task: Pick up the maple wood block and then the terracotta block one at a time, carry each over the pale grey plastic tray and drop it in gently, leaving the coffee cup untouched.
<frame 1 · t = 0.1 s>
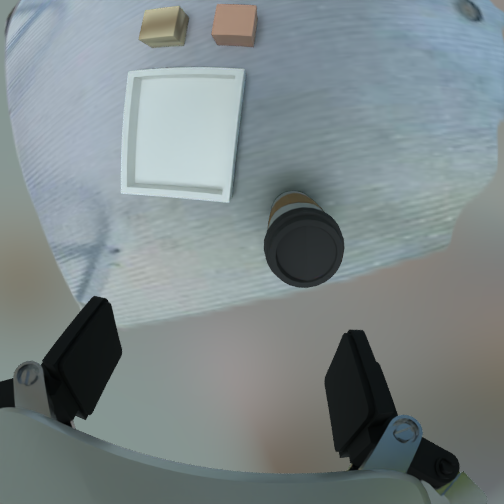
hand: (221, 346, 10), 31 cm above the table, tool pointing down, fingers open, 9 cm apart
tray: (182, 131, 35), on the table
maple block: (170, 32, 29), on the table
coffee cup: (292, 210, 40), on the table
terracotta block: (237, 31, 29), on the table
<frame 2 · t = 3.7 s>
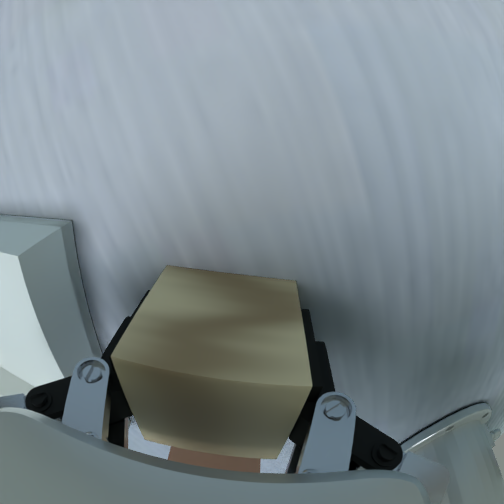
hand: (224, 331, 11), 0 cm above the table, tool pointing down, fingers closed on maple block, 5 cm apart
tray: (8, 319, 13), on the table
maple block: (226, 323, 11), on the table, touching gripper
terracotta block: (220, 429, 16), on the table
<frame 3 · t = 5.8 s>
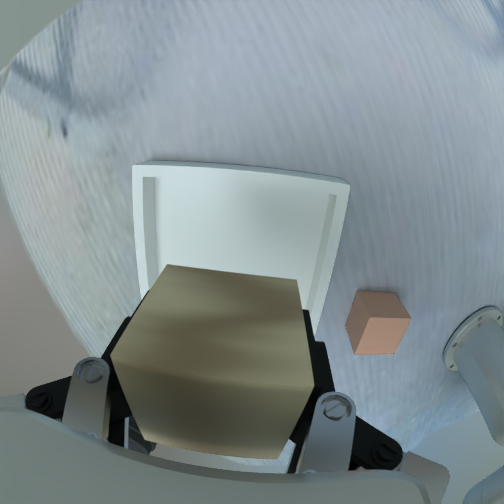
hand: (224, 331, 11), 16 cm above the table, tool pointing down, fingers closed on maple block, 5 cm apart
tray: (235, 246, 27), on the table
maple block: (226, 323, 11), point 16 cm above the table, touching gripper
coffee cup: (156, 351, 35), on the table
terracotta block: (370, 309, 29), on the table
when the fingers open (3 cm above the table, at t = 8.2 s): maple block drops 2 cm, resting on tray.
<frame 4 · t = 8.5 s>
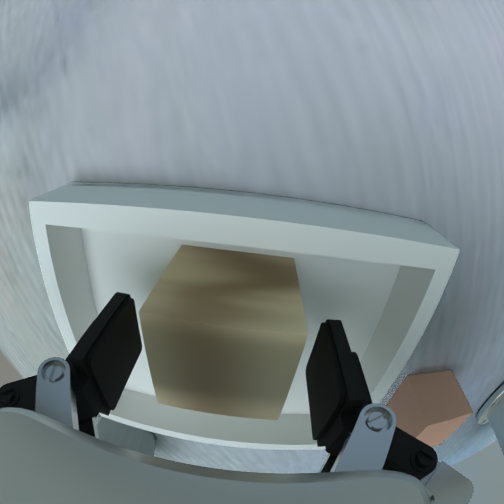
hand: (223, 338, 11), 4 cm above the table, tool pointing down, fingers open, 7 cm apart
tray: (229, 333, 15), on the table
maple block: (232, 298, 13), point 1 cm above the table, touching tray
coffee cup: (129, 427, 22), on the table
terracotta block: (416, 391, 18), on the table
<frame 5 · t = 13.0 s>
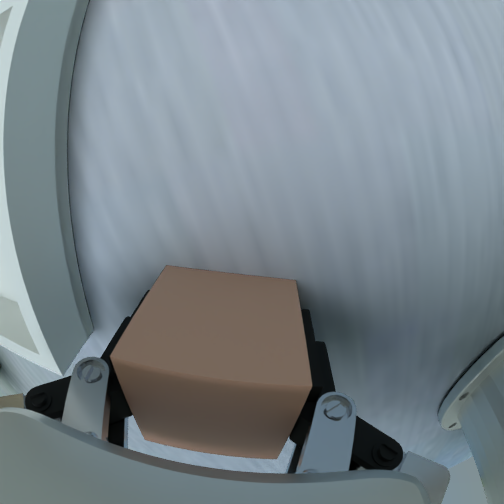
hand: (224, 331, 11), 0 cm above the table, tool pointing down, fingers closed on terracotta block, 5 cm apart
terracotta block: (226, 323, 11), on the table, touching gripper
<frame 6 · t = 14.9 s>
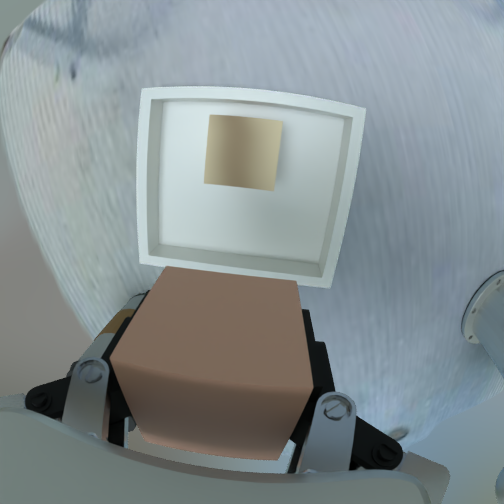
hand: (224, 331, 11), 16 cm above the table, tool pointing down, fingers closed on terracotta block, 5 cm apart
tray: (244, 180, 24), on the table
maple block: (248, 148, 22), point 1 cm above the table, touching tray
coffee cup: (151, 313, 32), on the table
terracotta block: (226, 324, 11), point 16 cm above the table, touching gripper
when the fingers open (3 cm above the table, at t = 17.3 s): terracotta block drops 2 cm, resting on tray.
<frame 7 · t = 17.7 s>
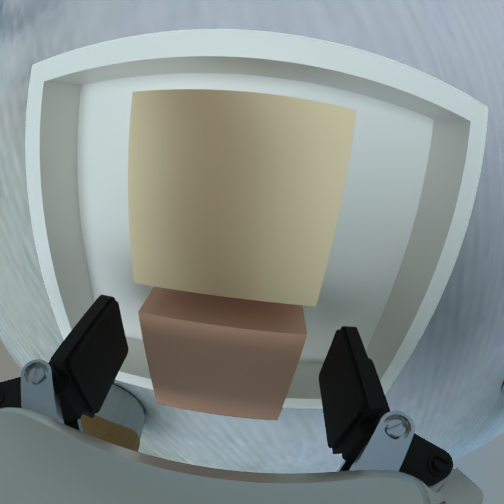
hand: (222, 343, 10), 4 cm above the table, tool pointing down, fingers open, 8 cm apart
tray: (237, 234, 13), on the table
maple block: (245, 171, 11), point 1 cm above the table, touching tray
coffee cup: (115, 398, 20), on the table
terracotta block: (232, 298, 13), point 1 cm above the table, touching tray
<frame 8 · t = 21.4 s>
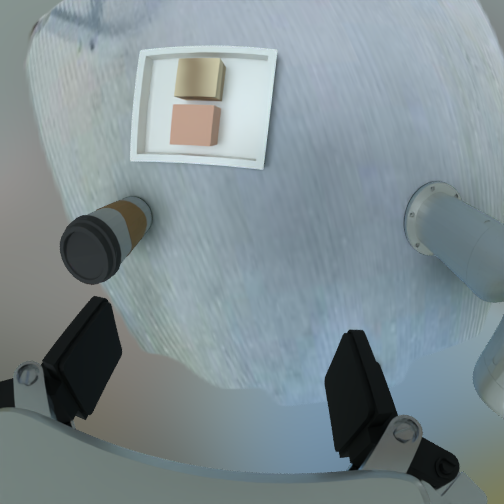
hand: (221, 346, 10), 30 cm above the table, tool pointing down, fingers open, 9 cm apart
tray: (203, 104, 33), on the table
maple block: (205, 83, 31), point 1 cm above the table, touching tray
coffee cup: (135, 214, 40), on the table
terracotta block: (200, 125, 34), point 1 cm above the table, touching tray
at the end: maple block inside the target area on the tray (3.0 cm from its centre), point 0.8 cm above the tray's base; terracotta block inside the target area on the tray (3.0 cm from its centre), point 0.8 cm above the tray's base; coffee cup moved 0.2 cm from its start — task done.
